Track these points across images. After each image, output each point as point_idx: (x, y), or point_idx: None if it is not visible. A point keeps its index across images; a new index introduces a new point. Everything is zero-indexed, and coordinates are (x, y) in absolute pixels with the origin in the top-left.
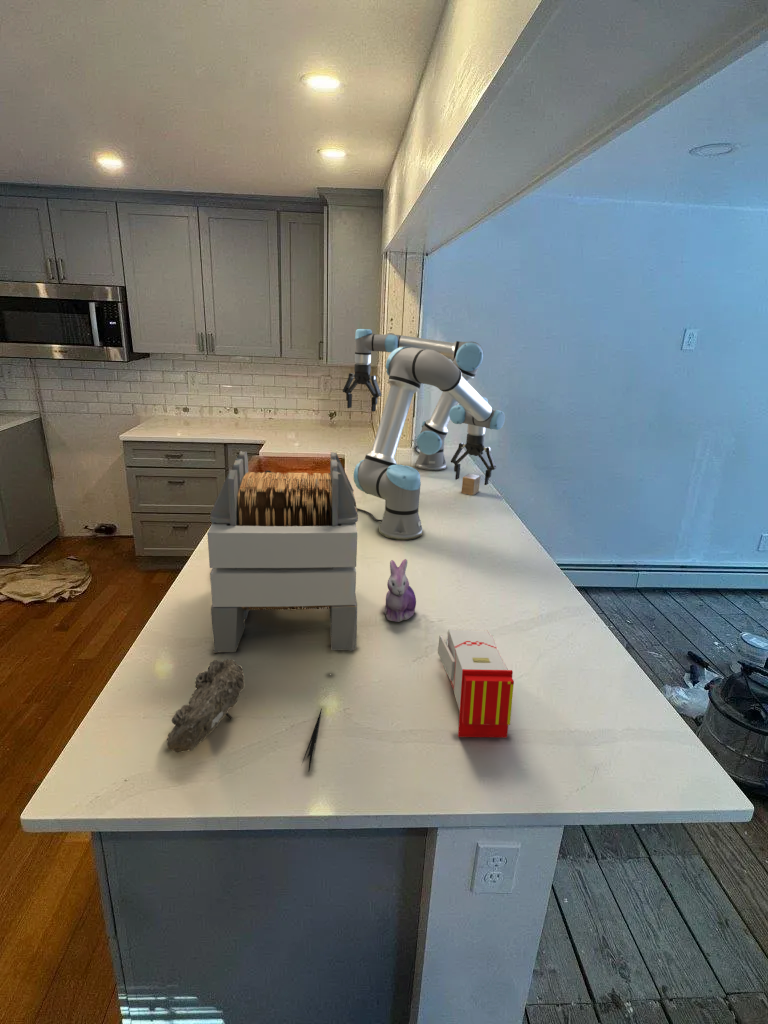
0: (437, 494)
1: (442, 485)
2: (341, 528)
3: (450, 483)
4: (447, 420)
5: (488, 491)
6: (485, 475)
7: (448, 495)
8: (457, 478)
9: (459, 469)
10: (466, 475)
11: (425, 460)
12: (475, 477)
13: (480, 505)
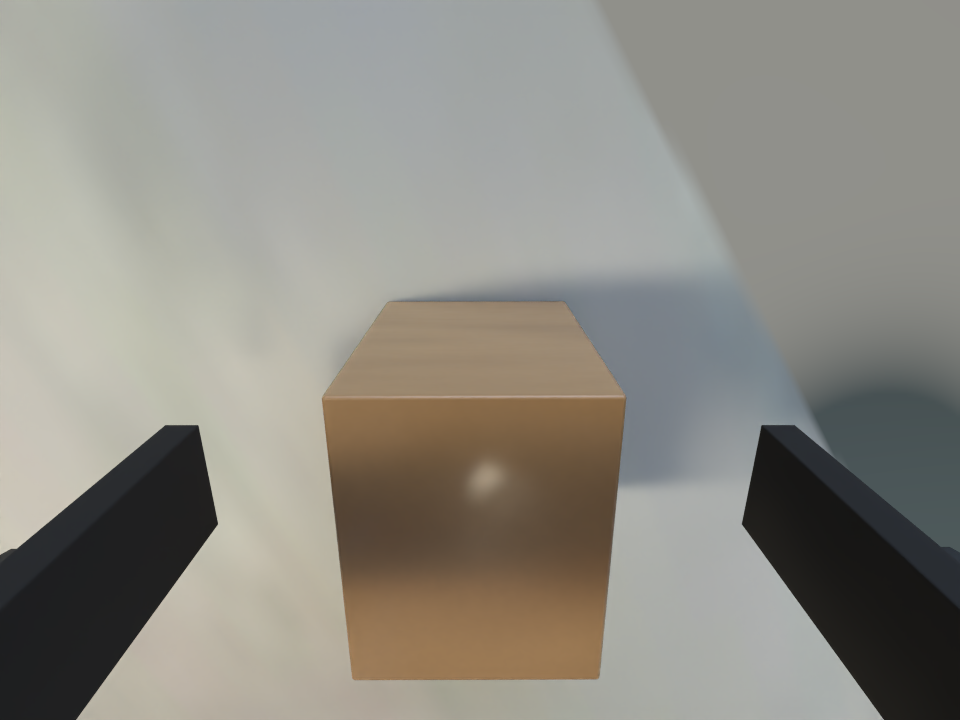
0: (216, 670)
1: (21, 346)
2: None
3: (26, 168)
4: None
5: (689, 189)
6: (862, 682)
7: (324, 637)
8: (205, 512)
9: (74, 578)
10: (351, 552)
11: None
12: (573, 570)
13: (727, 710)
